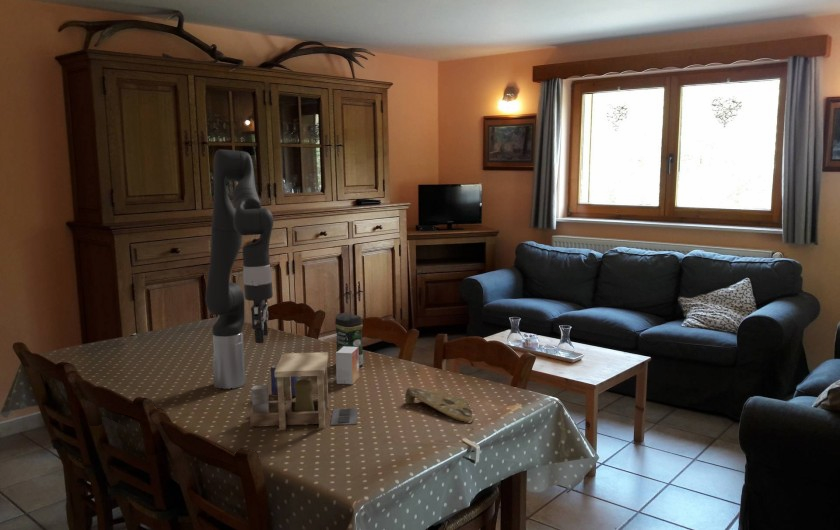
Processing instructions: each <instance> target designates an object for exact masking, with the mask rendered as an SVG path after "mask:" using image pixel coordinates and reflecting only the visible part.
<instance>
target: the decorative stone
mask: <svg viewBox="0 0 840 530" xmlns="http://www.w3.org/2000/svg"><path fill="white" fill-rule="evenodd" d="M404 400H405V403H406V404H407V403H410V404H413V403H414V402H415V400H418V401H420V402H422V403H424V404H425V405H428V406H430V407H431V408H432V409H435V410H436V411H439V412H440V413H442V414H444V415H446V416H447V417H450V418H452V419H455V420H457V421H459V422H462V421H464V423H466V422H469V421H471V420H472V410H471V408H472V407H471V408H470V406H471V405H470V406H469V403H468V400H469V399H467V398H463V397H461V396H457V395H455V394H451V393H448V392H445V391H442V390H437V389H429V390H425V389H419V388H416V387H411V386H409V387H407V389H406V391H405V399H404ZM412 402H413V403H412Z"/></svg>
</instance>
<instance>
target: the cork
mask: <svg viewBox="0 0 840 530" xmlns="http://www.w3.org/2000/svg"><path fill="white" fill-rule="evenodd" d="M294 389H295V392H296V397H295V400H296V404H295V412H306V411H315V410H314V404H313V395H312V394H313V393H312V392H313V390H314V384H313V382H312V380H310V379H306V378H305V379H304V378H303V379H299V380H298V381H297V382H296V383H295V384H294Z"/></svg>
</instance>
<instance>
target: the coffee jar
mask: <svg viewBox="0 0 840 530" xmlns="http://www.w3.org/2000/svg"><path fill="white" fill-rule="evenodd" d="M334 326H335V330H336V352H338V351H339V350H340V349H341V348H342V347H343V346H345V347H359V368H360V367H361V366H363V365H364V351H363V339H362V336H363V335H362V331H363V326H364V325H363V318H362V317H361V315H356V314H351V313H348V312H342V313H338V314H336V316H335V320H334Z"/></svg>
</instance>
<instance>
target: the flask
mask: <svg viewBox="0 0 840 530" xmlns="http://www.w3.org/2000/svg"><path fill="white" fill-rule="evenodd" d="M277 365H278V363H277V364H276V365H271V366H270V379H271V380H270V382H271V383H270V385H271V388H270V389H271V396H274V395H276V396H275V397H278V386H277V377H275V373H274V372H275V369H276V367H277ZM299 377H300V376H293V377H291V397H292V398H296V392H295V389H294V384H295V383H296V382H297V381H298V380H300V378H299ZM284 396H285V377H284ZM285 398H286V396H285Z"/></svg>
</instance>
